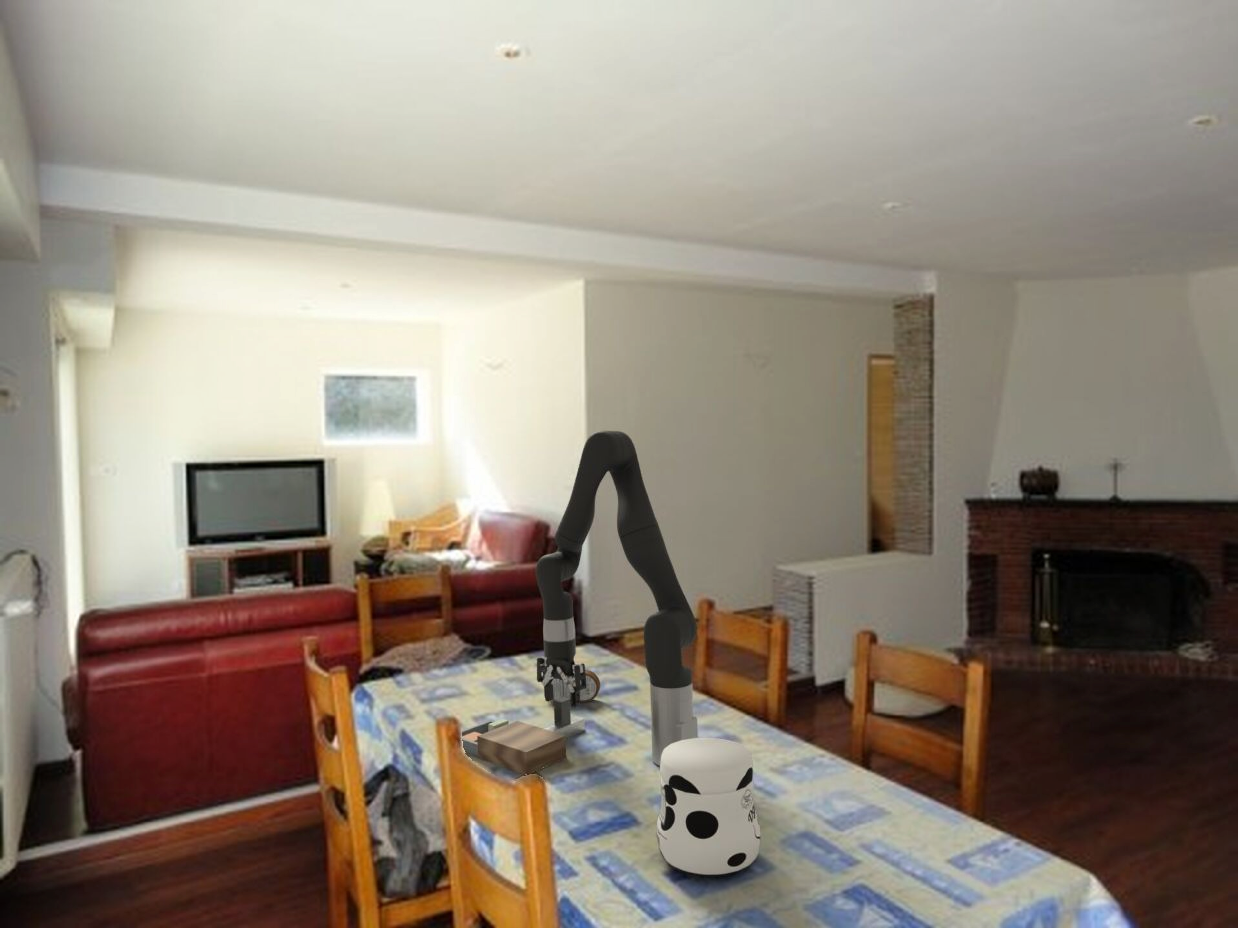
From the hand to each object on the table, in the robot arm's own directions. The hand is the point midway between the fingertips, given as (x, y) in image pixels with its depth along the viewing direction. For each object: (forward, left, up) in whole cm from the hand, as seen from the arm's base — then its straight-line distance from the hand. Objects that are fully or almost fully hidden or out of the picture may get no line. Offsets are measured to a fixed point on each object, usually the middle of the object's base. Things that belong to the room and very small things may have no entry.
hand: (562, 703), depth 198 cm
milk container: (-60, +26, -8) cm, 66 cm away
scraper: (0, 0, -8) cm, 8 cm away
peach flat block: (+12, +18, -5) cm, 22 cm away
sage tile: (+8, +13, -5) cm, 15 cm away
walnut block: (-2, +15, -8) cm, 17 cm away
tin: (+16, -20, -8) cm, 27 cm away
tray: (+11, +15, -8) cm, 20 cm away
